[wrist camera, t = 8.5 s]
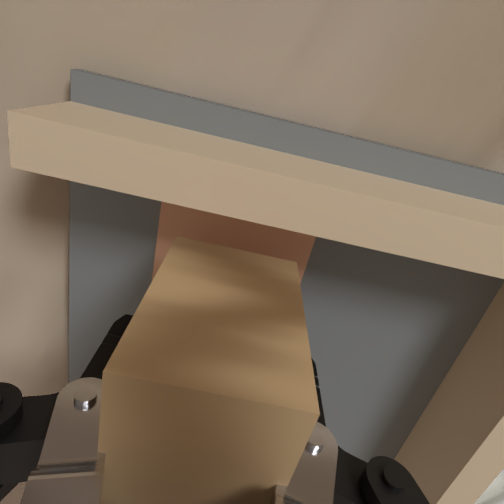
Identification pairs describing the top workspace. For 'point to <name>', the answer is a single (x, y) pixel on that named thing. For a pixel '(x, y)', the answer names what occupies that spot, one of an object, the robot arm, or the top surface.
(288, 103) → the top surface
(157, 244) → the tray
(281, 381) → the oak block
